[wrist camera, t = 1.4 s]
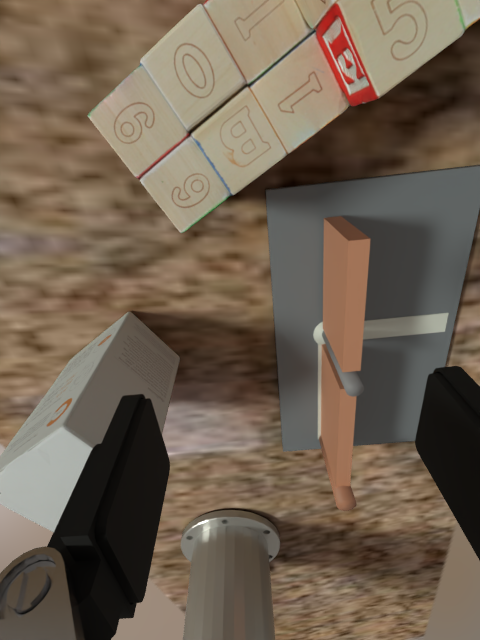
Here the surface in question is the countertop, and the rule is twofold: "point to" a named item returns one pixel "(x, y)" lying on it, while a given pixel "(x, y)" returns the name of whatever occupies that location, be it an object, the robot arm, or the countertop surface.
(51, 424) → the small box
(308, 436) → the board
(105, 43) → the countertop surface
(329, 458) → the fixed fence panel
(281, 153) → the stack of blocks
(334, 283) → the hinged fence panel
